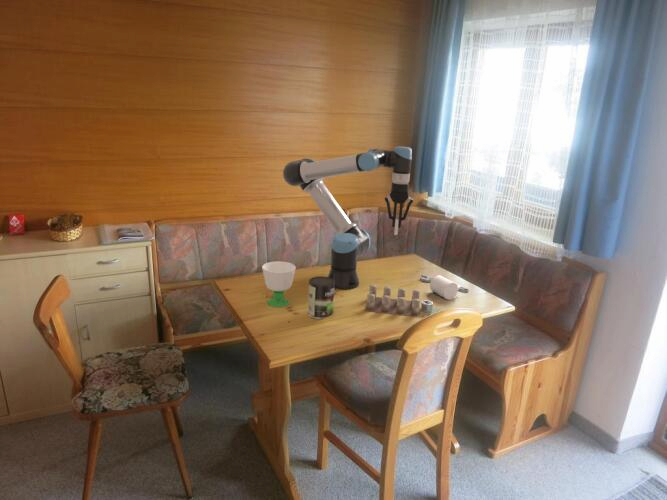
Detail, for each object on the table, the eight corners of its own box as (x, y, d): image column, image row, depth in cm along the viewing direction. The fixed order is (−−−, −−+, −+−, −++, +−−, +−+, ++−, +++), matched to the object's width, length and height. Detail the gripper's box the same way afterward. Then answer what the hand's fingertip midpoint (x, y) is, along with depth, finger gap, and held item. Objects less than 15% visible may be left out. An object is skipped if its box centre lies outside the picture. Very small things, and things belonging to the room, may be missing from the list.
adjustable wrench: (469, 292, 224) (470, 289, 223) (462, 296, 220) (462, 292, 219) (424, 276, 240) (424, 273, 240) (416, 280, 236) (417, 276, 235)
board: (364, 313, 195) (365, 297, 193) (368, 298, 210) (369, 283, 208) (419, 319, 192) (421, 303, 190) (419, 303, 207) (421, 288, 205)
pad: (420, 315, 196) (421, 313, 196) (420, 308, 203) (420, 306, 202) (440, 317, 195) (441, 315, 195) (440, 310, 202) (440, 308, 201)
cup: (281, 293, 210) (281, 259, 205) (301, 303, 201) (302, 268, 196) (254, 301, 201) (254, 265, 196) (275, 312, 192) (275, 275, 187)
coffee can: (338, 313, 194) (340, 280, 190) (324, 322, 186) (326, 287, 182) (317, 306, 199) (318, 274, 195) (302, 314, 191) (303, 281, 187)
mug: (442, 301, 212) (445, 283, 209) (428, 292, 220) (430, 276, 218) (463, 297, 217) (466, 280, 215) (449, 289, 225) (451, 273, 223)
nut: (421, 312, 197) (421, 304, 196) (420, 307, 202) (421, 299, 201) (432, 313, 196) (432, 305, 195) (431, 308, 201) (432, 300, 200)
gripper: (385, 182, 211) (380, 235, 218) (415, 185, 209) (410, 237, 216) (386, 180, 218) (382, 230, 225) (415, 182, 216) (410, 233, 223)
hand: (395, 234), depth 220 cm, fingers closed
